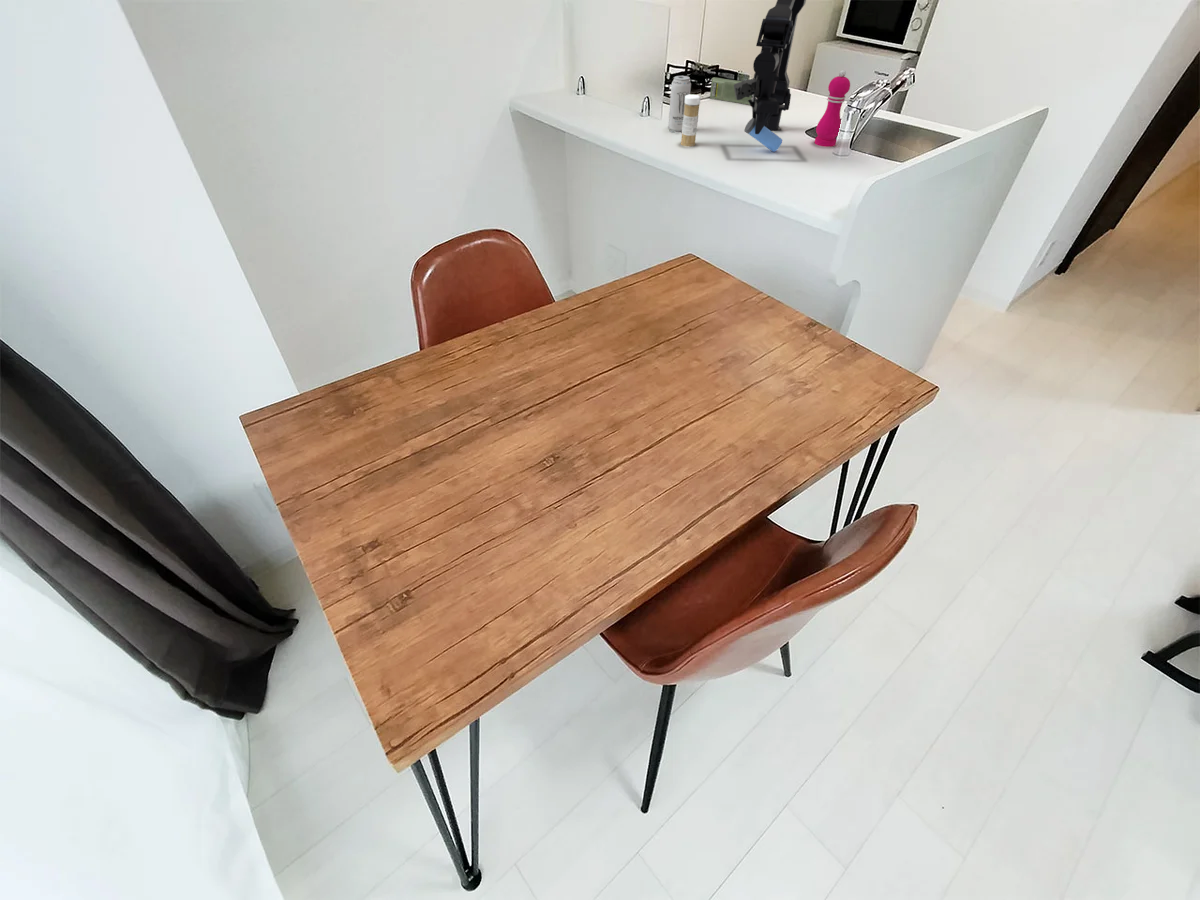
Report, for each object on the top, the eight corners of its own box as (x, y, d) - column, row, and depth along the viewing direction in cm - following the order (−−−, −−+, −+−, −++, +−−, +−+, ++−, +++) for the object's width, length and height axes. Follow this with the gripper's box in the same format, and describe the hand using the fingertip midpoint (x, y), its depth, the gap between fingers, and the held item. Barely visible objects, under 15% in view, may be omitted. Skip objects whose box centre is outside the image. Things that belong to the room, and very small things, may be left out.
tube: (743, 129, 178) (752, 116, 175) (771, 149, 181) (780, 137, 179) (745, 133, 175) (755, 120, 172) (774, 154, 178) (783, 141, 176)
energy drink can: (672, 134, 192) (677, 80, 182) (664, 128, 197) (668, 76, 186) (689, 132, 194) (695, 79, 184) (680, 127, 198) (686, 74, 188)
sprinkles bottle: (688, 142, 187) (693, 93, 178) (698, 146, 184) (704, 96, 175) (677, 144, 185) (681, 95, 176) (686, 148, 182) (692, 98, 173)
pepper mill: (834, 141, 189) (853, 67, 176) (838, 149, 184) (858, 73, 170) (810, 140, 190) (828, 67, 176) (814, 147, 184) (832, 72, 171)
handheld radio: (712, 96, 228) (775, 107, 218) (708, 98, 226) (771, 109, 216) (714, 76, 223) (779, 86, 213) (710, 78, 221) (775, 88, 211)
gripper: (734, 61, 172) (724, 121, 183) (744, 76, 159) (732, 140, 169) (773, 63, 172) (760, 123, 183) (786, 78, 159) (772, 142, 169)
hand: (755, 131), depth 176 cm, fingers closed on tube, 4 cm apart
